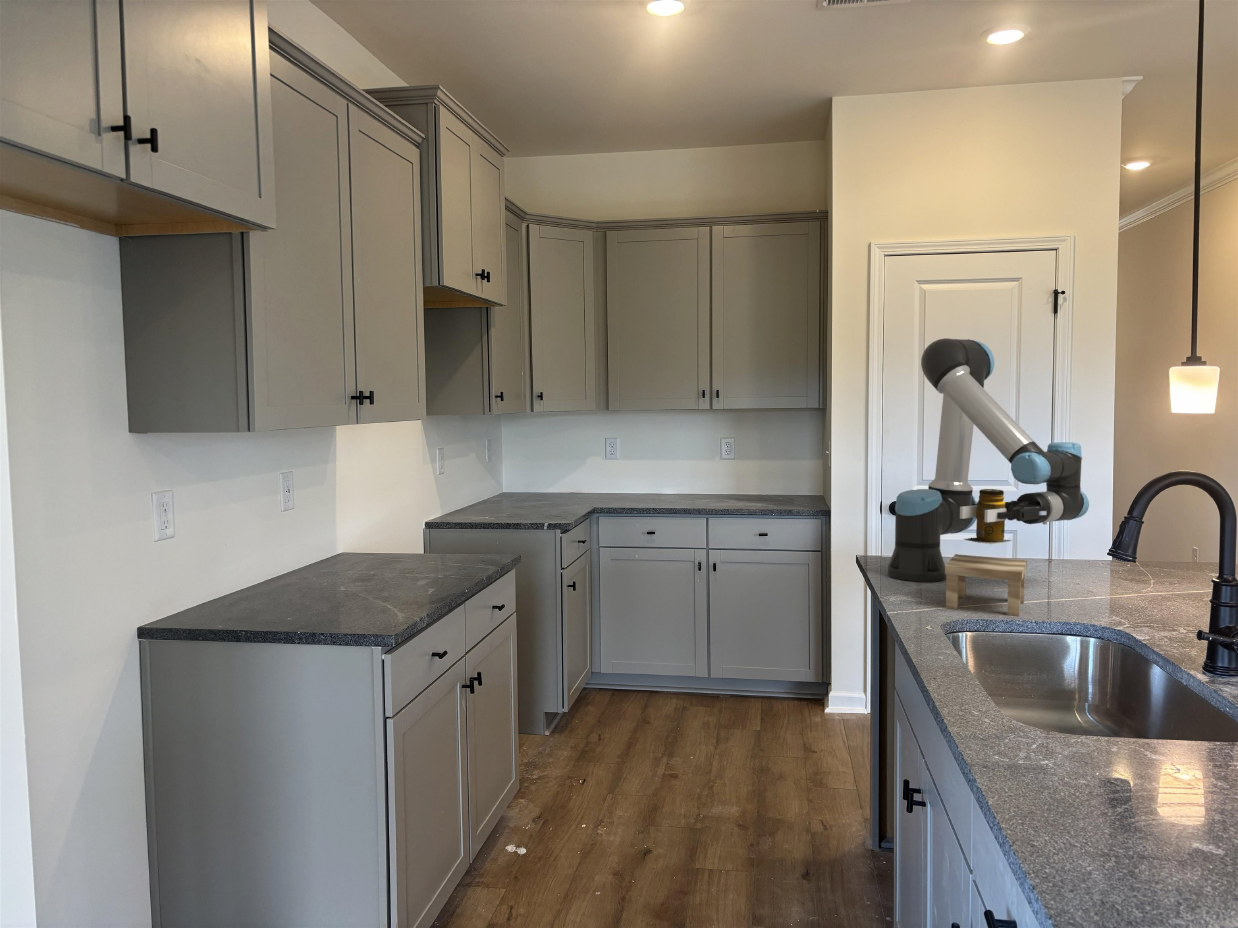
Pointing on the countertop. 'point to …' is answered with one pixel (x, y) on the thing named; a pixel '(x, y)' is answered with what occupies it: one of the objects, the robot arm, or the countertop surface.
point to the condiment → (989, 530)
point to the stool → (985, 569)
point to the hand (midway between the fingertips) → (973, 514)
